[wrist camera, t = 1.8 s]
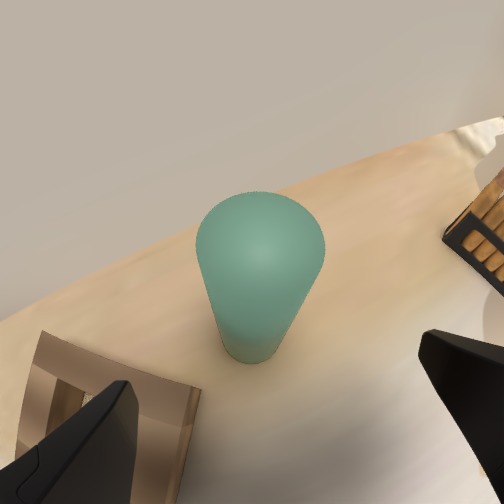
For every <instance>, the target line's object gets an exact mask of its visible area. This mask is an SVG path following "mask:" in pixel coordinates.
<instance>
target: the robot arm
mask: <svg viewBox="0 0 504 504" xmlns="http://www.w3.org/2000/svg"><path fill="white" fill-rule="evenodd" d="M418 357H419V360H420V362H421V364H422V366H423V368H424V369H425V371H426V373H427V375H428V377H429V379H430V381H431V383H432V385H433V386H434V388H435V390H436V392H437V394H438V395H439V397H440V398H441V400H442V402H443V403H444V405H445V406H446V408H447V409H448V411H449V412H450V414H451V416H452V417H453V419H454V420H455V422H456V424H457V425H458V427H459V428H460V430H461V432H462V433H463V435H464V437H465V438H466V440H467V442H468V443H469V445H470V447H471V448H472V450H473V452H474V454H475V455H476V457H477V459H478V461H479V462H480V464H481V466H482V467H483V469H484V471H485V473H486V475H487V477H488V479H489V481H490V483H491V485H492V487H493V489H494V491H495V493H496V495H497V497H498V499H499V501H500V503H501V504H504V347H502V346H498V345H493V344H489V343H486V342H482V341H478V340H474V339H470V338H466V337H463V336H459V335H455V334H451V333H448V332H444V331H440V330H436V329H432V330H429V331H426V332H424V333H423V335H422V339H421V343H420V347H419V352H418ZM138 418H139V402H138V399H137V397H136V394H135V392H134V390H133V387H132V385H131V383H130V381H128V380H115V381H113V382H112V383H111V384H110V385H109V386H107V387H106V388H105V389H104V390H102V391H101V392H100V393H99V394H98V395H96V396H95V397H94V398H93V399H91V400H90V401H89V402H88V403H87V404H85V405H84V406H83V407H82V408H80V409H79V410H78V411H77V412H76V413H74V414H73V415H72V416H71V417H69V418H68V419H67V420H66V421H64V422H63V423H62V424H61V425H60V426H58V427H57V428H56V429H55V430H53V431H52V432H51V433H50V434H48V435H47V436H46V437H45V438H43V439H42V440H41V441H40V442H38V445H37V444H36V445H35V446H33V447H32V448H31V449H30V450H28V451H27V452H26V453H24V454H23V455H22V456H20V457H19V458H18V459H16V460H15V461H13V462H12V463H10V464H9V465H7V466H6V467H4V468H3V469H1V470H0V504H130V499H131V490H132V483H133V475H134V468H135V461H136V454H137V440H138Z"/></svg>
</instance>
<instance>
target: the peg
mask: <svg viewBox="0 0 504 504" xmlns="http://www.w3.org/2000/svg"><path fill="white" fill-rule="evenodd" d="M196 254H197V259H198V262H199V266H200V269H201V273H202V276H203V280H204V283H205V286H206V290H207V293H208V296H209V300H210V303H211V306H212V309H213V313H214V316H215V319H216V322H217V325H218V328H219V331H220V335H221V338H222V341H223V344H224V346H225V349H226V350H227V352H228V353H229V354H230V355H231V356H232V357H233V358H234V359H236V360H238V361H240V362H242V363H247V364H256V363H260V362H263V361H265V360H267V359H268V358H270V357H271V356H272V355H273V354H274V352H275V351H276V349H277V348H278V346H279V344H280V342H281V341H282V339H283V337H284V336H285V334H286V332H287V330H288V329H289V327H290V325H291V323H292V322H293V320H294V318H295V316H296V314H297V313H298V311H299V309H300V307H301V305H302V304H303V302H304V300H305V298H306V296H307V294H308V293H309V291H310V289H311V287H312V285H313V283H314V281H315V279H316V278H317V276H318V274H319V272H320V270H321V268H322V265H323V262H324V257H325V242H324V237H323V233H322V231H321V228H320V226H319V224H318V223H317V221H316V220H315V218H314V217H313V216H312V215H311V213H310V212H309V211H308V210H306V209H305V208H304V207H303V206H302V205H300V204H299V203H297V202H295V201H294V200H292V199H290V198H287V197H285V196H282V195H279V194H275V193H269V192H248V193H243V194H239V195H235V196H232V197H230V198H228V199H226V200H224V201H222V202H221V203H219V204H218V205H216V206H215V207H214V208H213V209H212V210H211V211H210V212H209V213H208V214H207V215H206V217H205V218H204V220H203V221H202V223H201V225H200V227H199V230H198V233H197V237H196Z"/></svg>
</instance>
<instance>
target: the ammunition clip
mask: <svg viewBox="0 0 504 504" xmlns="http://www.w3.org/2000/svg"><path fill="white" fill-rule="evenodd" d="M503 190H504V168H503V169H502V170H501V171H500V172H499V173H498V175H497V176H496V177H495V178H494V179H493V180H492V181H491V183H490V184H488V185H487V186H486V187H485V188H484V189H483V190H482V192H481V193H480V194H479V195H478V196H477V198H476V199H475V200H474V201H473V202H472V203H471V204H470V205H469V206H468V207H467V208H466V209H465V210H464V211H463V212H462V213H461V214H460V215H459V216H458V218H457V219H456V220H455V221H454V222H453V223H452V224H451V225H450V226H449V227H448V228H447V229H446V231H445V233H444V236H443V239H442V240H443V242H444V243H445V244H446V245H448V246H449V247H450V248H451V249H452V250H454V251H455V252H456V253H457V254H458V255H459V256H461V257H462V258H463V259H464V260H465V261H466V262H467V263H468V264H470V265H471V266H472V267H473V268H474V269H475V270H476V271H477V272H478V273H479V274H481V275H482V276H483V277H484V278H485V279H486V280H487V281H488V282H489V283H490V284H491V285H492V286H493V287H494V288H495V289H496V290H497V291H498V292H499V293H500V294H501V295H502V296H503V297H504V196H502V197H501V198H500V199H499V200H498V198H499V196H500V194H501V192H502V191H503ZM497 200H498V201H497ZM496 201H497V202H496ZM495 202H496V203H495ZM490 208H491V209H490ZM489 209H490V210H489Z"/></svg>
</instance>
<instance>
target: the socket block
mask: <svg viewBox="0 0 504 504" xmlns="http://www.w3.org/2000/svg"><path fill="white" fill-rule="evenodd" d="M115 380H128V381H130V383H131V385H132V387H133V390H134V392H135V394H136V397H137V399H138V402H139V418H138V440H137V454H136V461H135V468H134V475H133V483H132V490H131V499H130V504H176V499H177V495H178V490H179V486H180V481H181V476H182V472H183V467H184V463H185V458H186V454H187V450H188V445H189V441H190V436H191V432H192V428H193V423H194V419H195V415H196V411H197V406H198V402H199V398H200V394H201V389H198V388H195V387H192V386H189V385H185V384H181V383H178V382H174V381H171V380H167V379H164V378H161V377H158V376H154V375H151V374H148V373H145V372H142V371H139V370H136V369H133V368H130V367H128V366H125V365H122V364H119V363H117V362H114V361H111V360H109V359H106V358H103V357H101V356H98V355H96V354H93V353H91V352H89V351H86V350H84V349H82V348H79V347H77V346H75V345H72V344H70V343H68V342H66V341H64V340H61V339H59V338H57V337H55V336H53V335H51V334H49V333H47V332H45V331H43V330H42V332H41V335H40V338H39V341H38V344H37V348H36V351H35V355H34V358H33V362H32V365H31V369H30V373H29V377H28V381H27V385H26V390H25V394H24V399H23V404H22V409H21V415H20V421H19V427H18V434H17V442H16V451H15V460H16V459H18V458H19V457H20V456H22V455H23V454H24V453H26V452H27V451H28V450H30V449H31V448H32V447H33V446H35V445H36V444H37V445H38V442H40V441H41V440H42V439H43V438H45V437H46V436H47V435H48V434H50V433H51V432H52V431H53V430H55V429H56V428H57V427H58V426H60V425H61V424H62V423H63V422H64V421H66V420H67V419H68V418H69V417H71V416H72V415H73V414H74V413H76V412H77V411H78V410H79V409H80V408H81V405H82V401H83V397H84V393H85V392H87V393H89V394H91V395H93V396H96V395H98V394H99V393H100V392H101V391H102V390H104V389H105V388H106V387H107V386H109V385H110V384H111V383H112V382H113V381H115Z"/></svg>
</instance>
